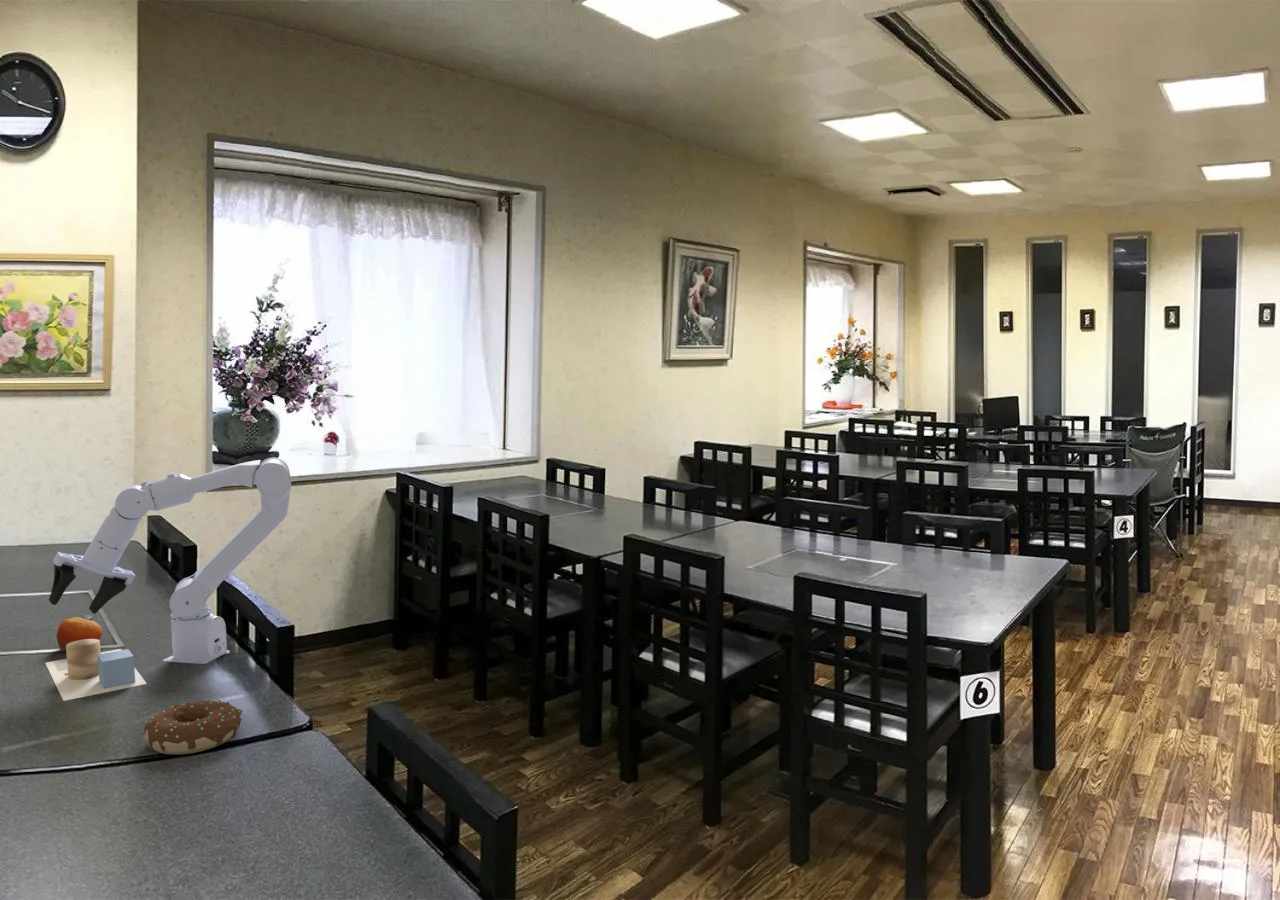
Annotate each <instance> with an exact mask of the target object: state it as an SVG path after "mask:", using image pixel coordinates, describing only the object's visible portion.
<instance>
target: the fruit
mask: <svg viewBox="0 0 1280 900" xmlns="http://www.w3.org/2000/svg"><path fill="white" fill-rule="evenodd" d="M102 637H103V628H102V626H101V625H100V624H98V622H96V621H94V620H89V619H88V618H82V617H80V616H79V617H78V616H74V617H72V618H66V619H64V620H62V621H61V623H59V625H58V628H57V632H56V641H57V644H58V648H59V649H60V651H66V645H67V644H69V643H71V642H74V641H78V640H84V639H97V640H99V641H100V640H101V638H102Z"/></svg>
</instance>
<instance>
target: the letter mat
mask: <svg viewBox="0 0 1280 900" xmlns="http://www.w3.org/2000/svg"><path fill="white" fill-rule="evenodd" d="M120 650H122V649H121V648H118V649H113V650H108V651H107V650H106V651H102V652H101V651H100V652H101V654H104V653H110V652H115V651H120ZM44 664H45V666H46V668H47V669H48V671H49V674H50V675H51V677H52V680H53V682H54V684H55V686H56V689H57V690H58V692H59V695H60V696H61V699H62V701H63V702H65V701H70V700H75V699H79V698H85V697H90V696H94V695H100V694H104V693H108V692H115V691H119V690H123V689H129V688H132V687H133V688H134V687H139V686H144V685H147V682H146V680H145V679H144V678H143V676H142V675H141V674H140V672H139V671H138V670H137V668H136V667H135V666H134V669H135V683H130V684H125V685H120V686H115V687H111V688H106V689H104V688H103V686H102V685H101V683H100V681H99V675H98V676H95V677H92V678H88V679H81V680H73V679H69V678H68V667H67V658H64V659H63V658H62V659H58V660H52V661H48V662H44Z"/></svg>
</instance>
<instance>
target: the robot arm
mask: <svg viewBox="0 0 1280 900" xmlns="http://www.w3.org/2000/svg"><path fill="white" fill-rule="evenodd" d="M254 483H255V485H256V487H257V490H258V492H259V494H260V503H261V508H260V509H258V511H257V512H256V513H255V514H254V515H253V516H252V517H251V518H250V519H249V520H248V521H247V522H246V523H245V524H244V525H243V526H242V527H241V528H240V529H238V531H237V532H236V533H235V534H234V535H233V536H232V537H231V538H230V539H229V540H228V541H227V542H226V543H225V544H223V546H222V547H221V548H220V549H219V550H218V551H216V553H215V554H214V555H213V556H212V557H211V558H210V559H209V560H208V561H207V562H206V563H205V564H204V565H203V566H202V567H200V568H198V569H197V570H196V571H195V573H194V574H192V575H190V576H188V577H184V578H183V579H181V580H180V581H179V582H178V583H177V584H176V586H175V589H174V592H173V593H172V595H171V596H170V598H169V609H170V610H171V613H170V628H171V645H172V646H171V647H172V655H171V656H168V657H167V658H163V660H162V662H170V663H171V662H172V663H184V664H185V663H186V664H188V663H189V664H199V665H200V664H204V665H205V664H208V663H210V662H212V661H214V660H216V659H218V658H219V657H221V656H223V655H225V654H227V655H228V654H230V650H228V647H227V646H228V645H227V644H228V642H227V627H226V626H227V625H226V622H225V620H224V618H223V617H221V616H219V615H215V614H213V613H212V610H211V607H209V606H208V604H207V601H208V599H209V598H210V597H211V596H212V595H213V594H214V593H215V592H216V590H217V589H218V587H219V586H220V585H221V584H222V582H223V581H225V579H226V578H227V577H228V576H229V575H230V574H231V573H233V571H234V570H235V569H236V568H237V567H238V566H239V565H240V564H241V563H242V562H243V561H244V560H245V559H246V558H248V556H249V555H250V554H251V553H253V551H254V550H255V549H256V548H257V547H258V546H259V545H260V544H261V543H262V542H263V541H264V540H265V539H266V538H267V537H268V536H269V535H270V534H271V533H272V532H273V531H274V530H275V529H276V528H277V527H278V526H279V525H280V523H282V522H283V521H284V520H285V518H286V517H287V515H288V508H289V504H290V503H289V502H290V496H291V491H292V478H291V474H290V467H289V466H288V464H287V463H286V462H285V461H284V460H283V459H281V458H278V457H268V458H265V459H264V460H262V461H261V459H258V460H251V461H245V462H241V463H238V464H234V465H231V466H228V467H224V468H220V469H216V470H214V471H210V472H207V473H203V474H200V475H197V476H194V477H189V476H187V475H185V474H182V473H180V474H176V473H175V472H170V473H168V474H167V475H166V477H164V478H161V479H157V480H153V481H147V480H143V481H141V482H140V483H139V484H140V485H136V484H135V485H134V484H133V485H130V486H128V487H126V488H124V489H123V490H122V491H121V492H120V493H119V494H118V495H117V497H116V499H115V503H114V506H113V507H111V509H110V511H109V514H108V515H107V516H106V517H105V518H104V520H103V522H102V524H101V526H100V527H99V529H98V530H97V532H96V534H95V536H94V537H93V539H92V541H91V542H90V544H89V546H88V547H87V549H86V551H85V553H84V555H77V554H69V553H64V552H60V551H57V553H56V555H55V556H54V558H53V559H52V562H53V564H54V565H53V570H54V571H53V572H54V575H53V583H52V588H51V592H50V595H49V597H48V598H49V599H48V601H49V603H50V604H51V605H54V606H56V605H57V604H58V603H59V601H60V599H61V598H62V596H63V595H64V593H65V591H66V590H67V589H68V587H69V586H70V584H71V583H72V582H73V581H74V580H75V579H76V578H77V576H76V575H75V570H78V571H80V572H81V571H82V572H85V573H86V572H87V573H89V574H90V573H91V574H94V575H98V576H101V577H103V579H102V582H101V583H100V587H99V588H98V591H97V593H96V595H95V596H94V598H93V600H92V601H91V603H90V606H89V608H88V609H89V611H91V613H92V614H94V615H95V614H97V613H98V612H99V611H100V609H102V608H103V607H104V606H105V605H106V604H107V603H108V602H109V601H110V600H112V599H113V598H114V597H116V596H117V595H118V594H120V593H122V592H123V591H125V590H126V588H127V584H129V585H131V584H132V582H133V580H134V579H135V577H136V574H134V572H133V571H132V570H128V569H125V568H122V567H121V566H120V567H119V566H117V564H118V562H119V561H120V559H121V557H122V556H123V553H124V552H125V551H126V548H127V546H128V545H129V543H130V542H131V540H132V538H133V537H134V535H135V534H136V531H137V530H138V525H139V523H140V522H141V520H142V518H143V517H145V516H146V514H148V512H149V511H154V512H158V511H162V510H164V509H165V510H166V509H168V508H172V507H173V508H174V507H176V506H180V505H183V504H187V503H191V502H192V500H193V498H194V497H195V495H196V494H199V493H203V492H207V491H211V490H215V489H220V488H223V487H228V486H233V485H237V484H238V485H241V486H246V487H248V488H253V487H254V486H253V485H254Z"/></svg>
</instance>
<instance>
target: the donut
mask: <svg viewBox="0 0 1280 900" xmlns="http://www.w3.org/2000/svg"><path fill="white" fill-rule="evenodd" d="M243 711H244V710H243V709H239V708H236V706H233V704H230V702H228V701H227V702H224V701H221V699H218V701H217V700H210V699H207V700H200V701H199V700H195V701H190V702H186V703H180V704H179V705H178V704H176V705H172V706H170V708H166V709H164V710H161V711H160V712H157V713H155V714H154V715H153V716H152V717H151V718H150V719H149V720H146V721H145V725H144V726H145V727H144V731H143V732H144V733H143V734H144V739H145V742H146V745H147V746H148V747H149V748H150V751H156V752H157V753H160V754H163V755H172V756H174V755H188V754H195V753H199V752H204V751H208V750H210V749H214V748H216V747H218V746H220V745H223V744H224V743H226V742H227V741H228V740H229V739H231V738H234V737H235V736H236V735H237V731H238V730H239V728H240V725H241V723H242V718H241V715H242V712H243Z"/></svg>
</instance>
